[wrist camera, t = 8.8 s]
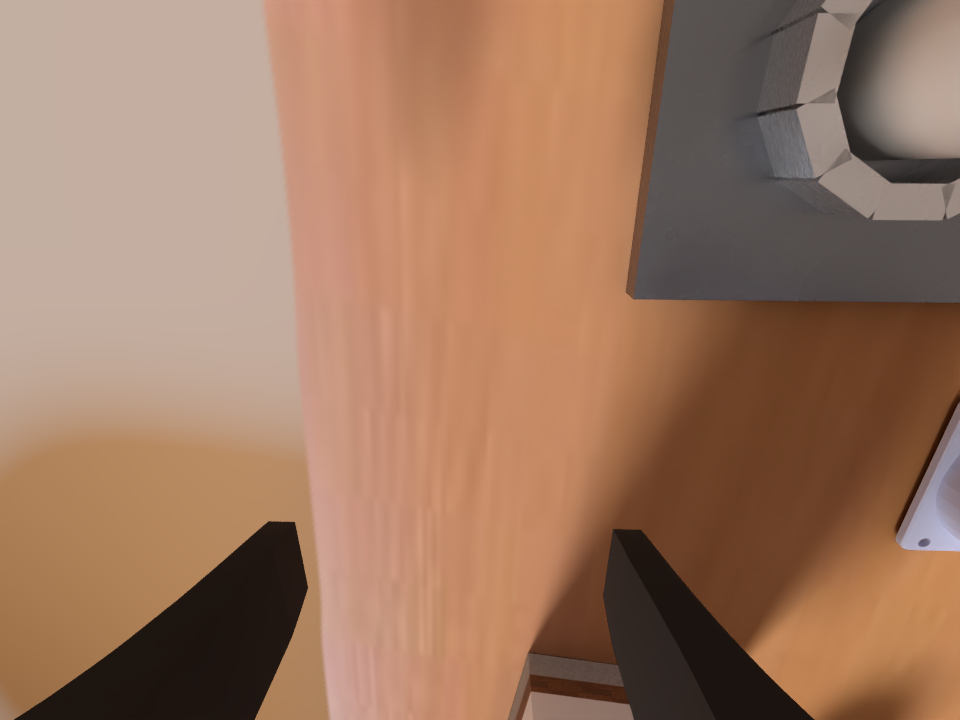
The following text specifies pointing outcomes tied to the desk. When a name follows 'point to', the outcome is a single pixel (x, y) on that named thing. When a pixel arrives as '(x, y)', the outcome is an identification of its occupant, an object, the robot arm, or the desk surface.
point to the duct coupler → (903, 82)
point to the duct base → (779, 169)
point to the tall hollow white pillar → (569, 691)
